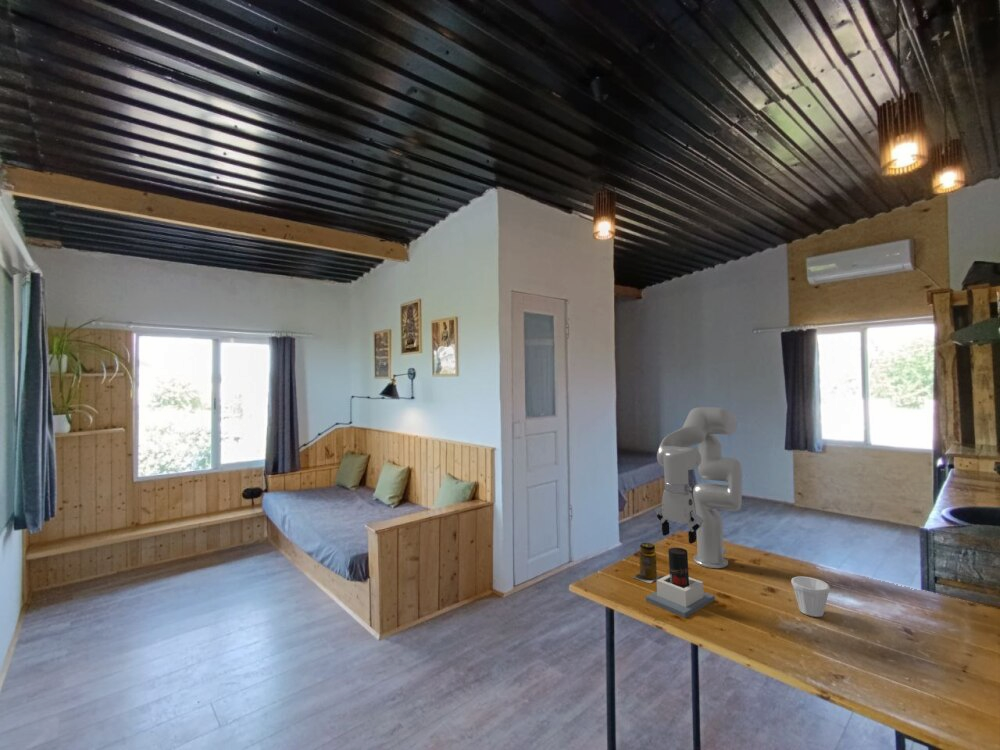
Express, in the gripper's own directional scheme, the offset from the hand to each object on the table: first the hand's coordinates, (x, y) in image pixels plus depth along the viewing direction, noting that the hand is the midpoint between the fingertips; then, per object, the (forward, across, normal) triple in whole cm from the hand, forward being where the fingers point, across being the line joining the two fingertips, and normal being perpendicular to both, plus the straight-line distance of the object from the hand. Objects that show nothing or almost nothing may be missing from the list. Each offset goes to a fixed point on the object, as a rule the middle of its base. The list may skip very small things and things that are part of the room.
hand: (678, 538), depth 152 cm
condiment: (+21, +18, -6) cm, 28 cm away
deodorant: (+19, 0, +1) cm, 19 cm away
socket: (+20, 0, +1) cm, 21 cm away
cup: (+21, -30, -23) cm, 43 cm away
